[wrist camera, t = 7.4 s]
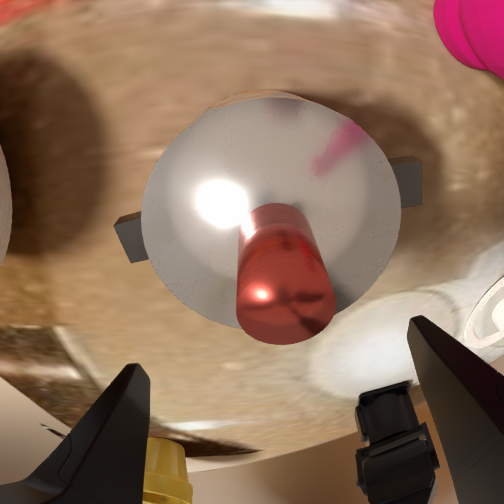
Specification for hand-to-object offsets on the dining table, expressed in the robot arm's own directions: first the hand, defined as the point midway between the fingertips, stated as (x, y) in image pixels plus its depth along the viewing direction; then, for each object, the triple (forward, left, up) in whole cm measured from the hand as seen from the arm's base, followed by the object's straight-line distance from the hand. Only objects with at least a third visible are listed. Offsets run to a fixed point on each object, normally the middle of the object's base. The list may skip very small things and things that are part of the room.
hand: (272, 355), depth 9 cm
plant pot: (+22, +35, -13) cm, 43 cm away
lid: (-1, -1, -7) cm, 7 cm away
